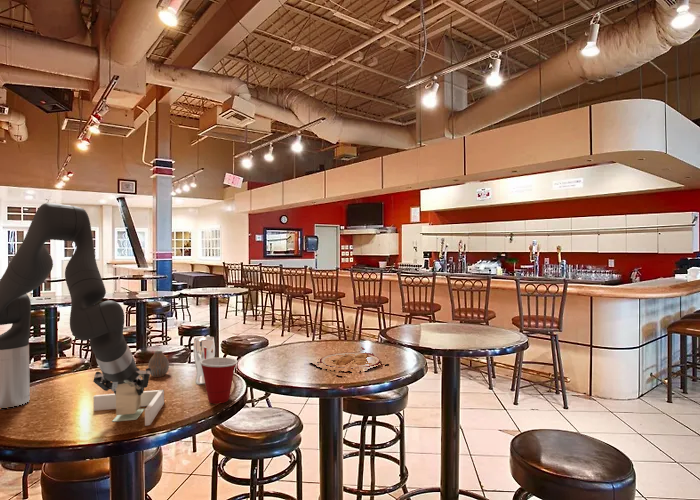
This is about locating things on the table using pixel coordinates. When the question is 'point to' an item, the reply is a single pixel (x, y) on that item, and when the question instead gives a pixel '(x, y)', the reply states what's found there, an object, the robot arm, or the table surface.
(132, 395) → the maple block
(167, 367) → the vase
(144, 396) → the corner arena
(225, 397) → the plastic cup
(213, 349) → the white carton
